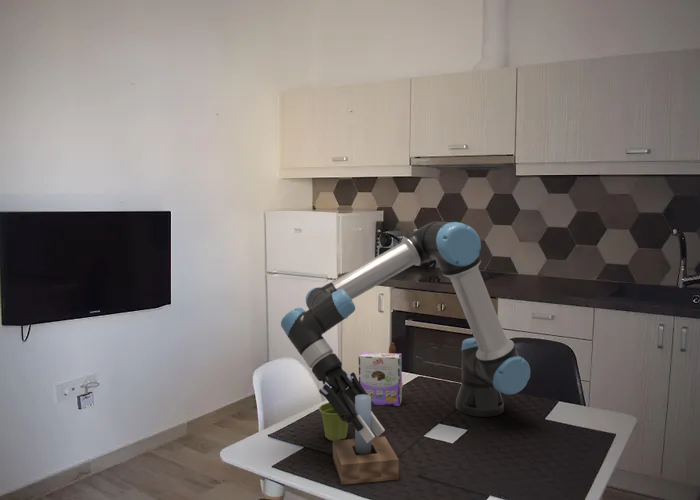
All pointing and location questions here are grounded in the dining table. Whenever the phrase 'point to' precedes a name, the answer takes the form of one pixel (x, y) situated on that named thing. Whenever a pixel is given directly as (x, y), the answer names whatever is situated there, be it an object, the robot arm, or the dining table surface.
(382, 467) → the bore block
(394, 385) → the candy box
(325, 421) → the plant pot
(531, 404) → the dining table surface
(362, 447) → the dowel
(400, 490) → the dining table surface
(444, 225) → the robot arm
